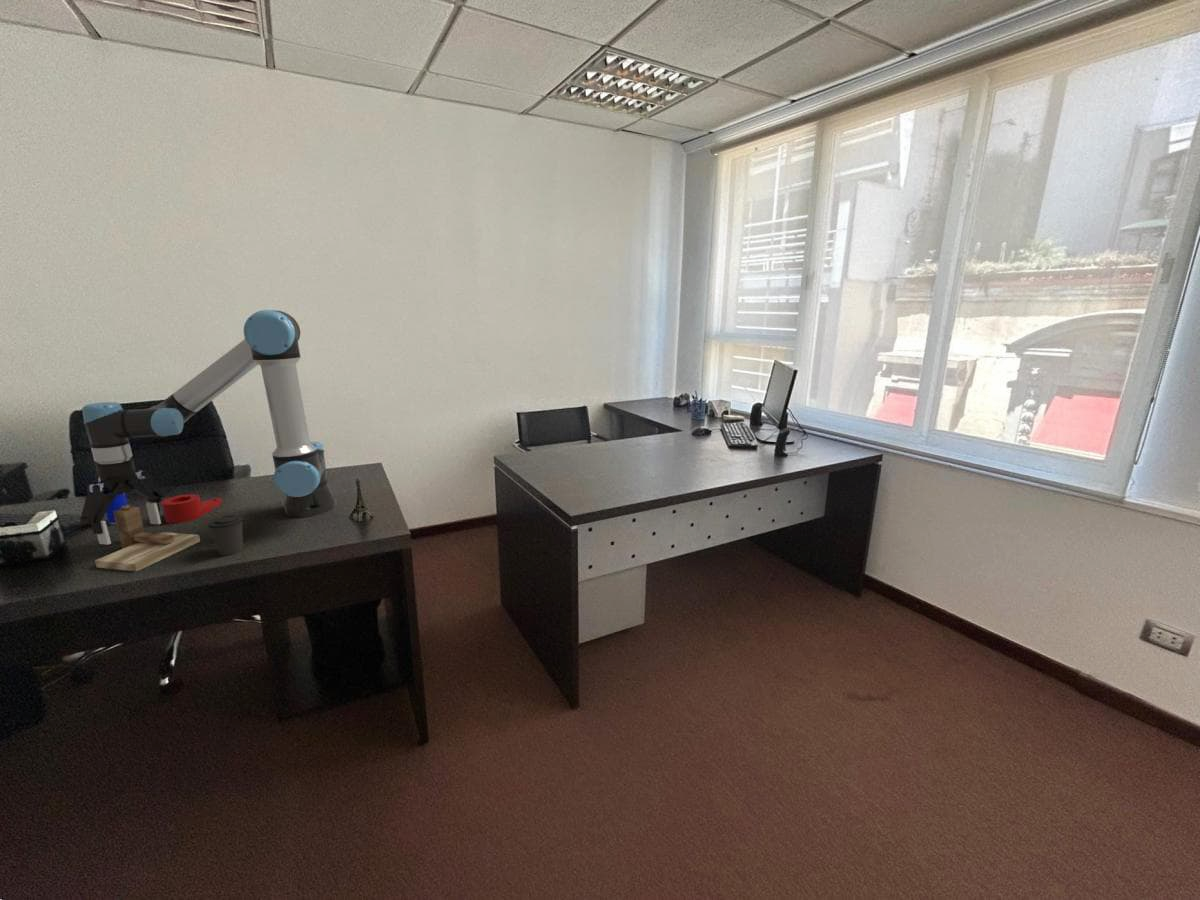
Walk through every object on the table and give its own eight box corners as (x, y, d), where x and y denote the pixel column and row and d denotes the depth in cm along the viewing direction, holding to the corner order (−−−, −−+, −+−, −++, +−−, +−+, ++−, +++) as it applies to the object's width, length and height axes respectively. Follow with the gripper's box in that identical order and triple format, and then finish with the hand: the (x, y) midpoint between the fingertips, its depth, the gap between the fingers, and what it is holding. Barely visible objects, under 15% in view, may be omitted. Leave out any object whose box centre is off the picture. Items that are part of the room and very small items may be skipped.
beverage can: (134, 520, 159) (123, 475, 155) (113, 526, 155) (102, 480, 151) (126, 517, 161) (115, 473, 158) (105, 523, 157) (93, 477, 153)
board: (200, 541, 145) (198, 534, 145) (136, 571, 128) (134, 564, 128) (164, 538, 147) (162, 531, 147) (96, 567, 130) (94, 560, 129)
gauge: (178, 546, 141) (169, 506, 138) (164, 552, 138) (155, 511, 134) (137, 542, 143) (127, 502, 140) (122, 549, 139) (112, 508, 136)
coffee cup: (209, 560, 135) (202, 525, 132) (217, 547, 142) (211, 514, 139) (245, 555, 138) (239, 521, 135) (251, 543, 145) (246, 510, 142)
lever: (183, 525, 157) (179, 505, 155) (157, 523, 158) (153, 503, 156) (232, 505, 174) (229, 486, 172) (208, 503, 175) (205, 485, 173)
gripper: (148, 448, 147) (163, 515, 152) (46, 473, 123) (68, 552, 129) (171, 449, 146) (185, 517, 151) (72, 475, 122) (93, 554, 128)
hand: (131, 533), depth 140 cm, fingers open, 13 cm apart
